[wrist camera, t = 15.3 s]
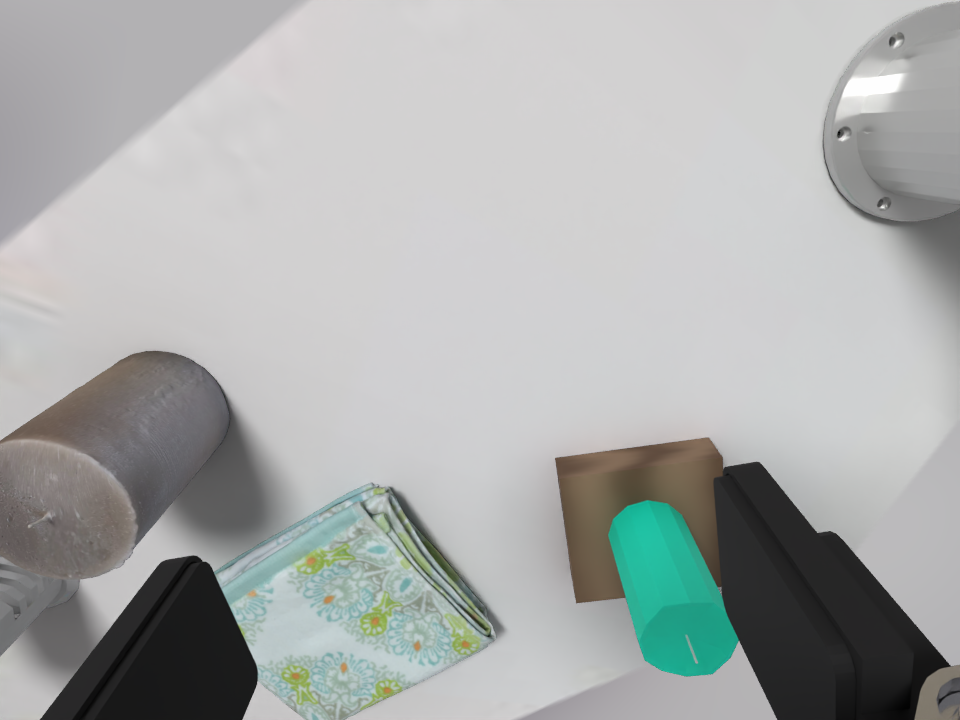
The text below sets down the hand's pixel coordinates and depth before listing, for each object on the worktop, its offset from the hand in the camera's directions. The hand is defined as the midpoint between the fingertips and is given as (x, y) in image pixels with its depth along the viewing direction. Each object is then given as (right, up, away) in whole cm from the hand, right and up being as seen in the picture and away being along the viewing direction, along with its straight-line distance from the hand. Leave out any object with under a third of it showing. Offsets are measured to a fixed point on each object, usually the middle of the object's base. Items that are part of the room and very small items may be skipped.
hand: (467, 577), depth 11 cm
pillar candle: (-24, 0, +36) cm, 43 cm away
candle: (+13, -9, +35) cm, 39 cm away
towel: (-11, -17, +43) cm, 47 cm away
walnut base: (+13, -9, +38) cm, 41 cm away
